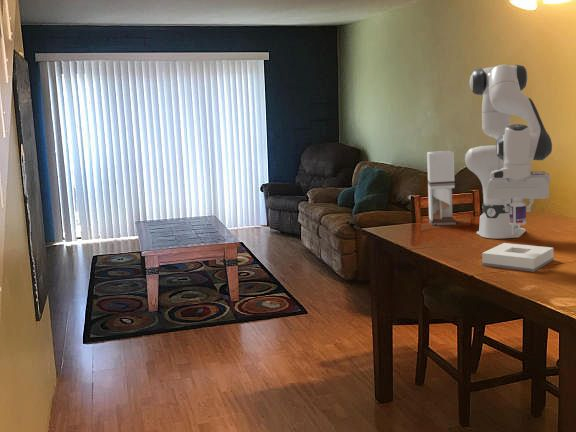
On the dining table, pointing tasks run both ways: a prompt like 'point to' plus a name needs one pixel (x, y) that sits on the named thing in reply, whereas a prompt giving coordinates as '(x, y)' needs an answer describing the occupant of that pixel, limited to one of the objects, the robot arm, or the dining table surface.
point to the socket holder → (517, 257)
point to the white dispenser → (440, 187)
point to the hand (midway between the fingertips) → (517, 211)
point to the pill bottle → (517, 211)
